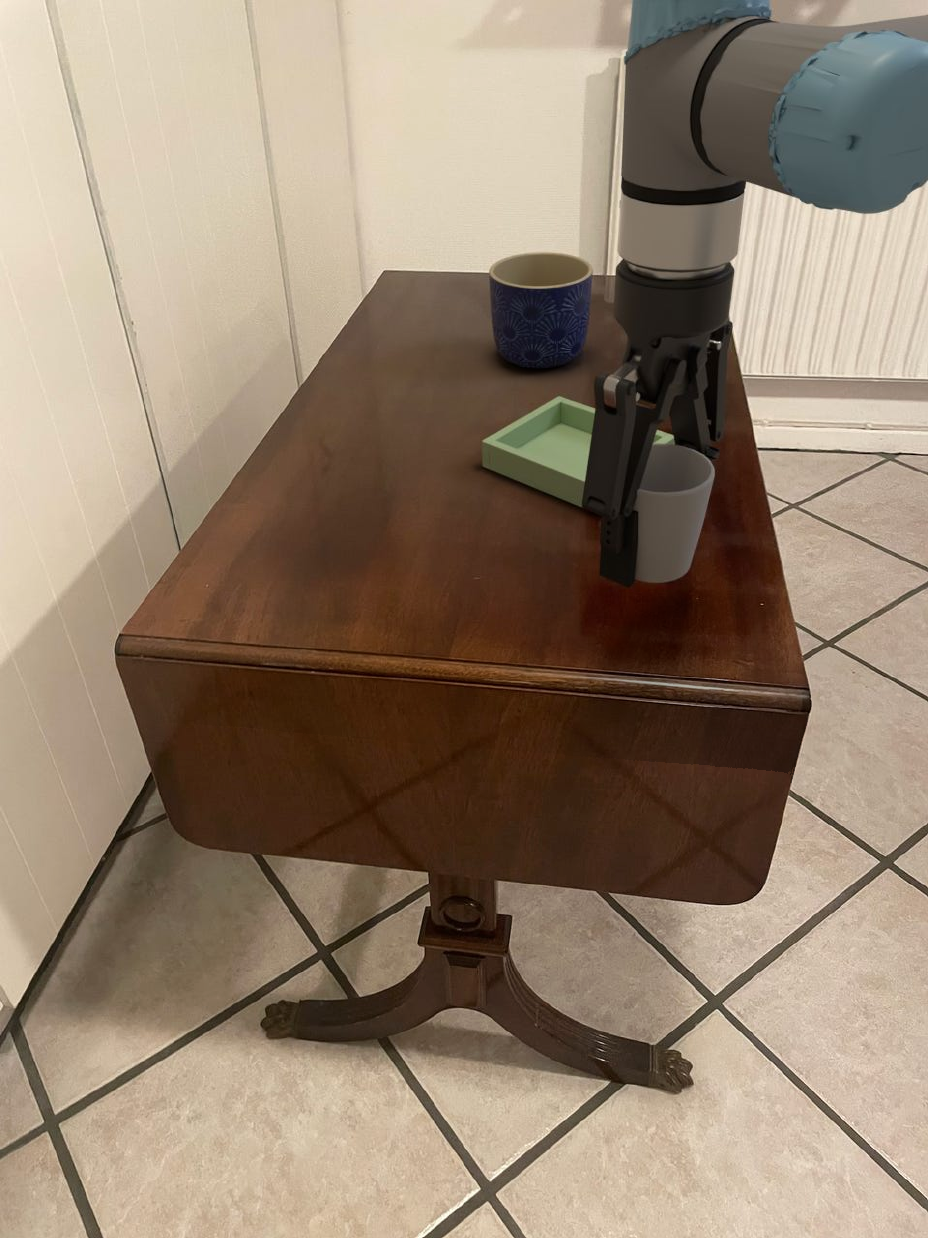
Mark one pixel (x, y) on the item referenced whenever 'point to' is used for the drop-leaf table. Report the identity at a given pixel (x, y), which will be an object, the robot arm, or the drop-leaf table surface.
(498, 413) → the drop-leaf table surface
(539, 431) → the tray
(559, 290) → the planter
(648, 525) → the cup
